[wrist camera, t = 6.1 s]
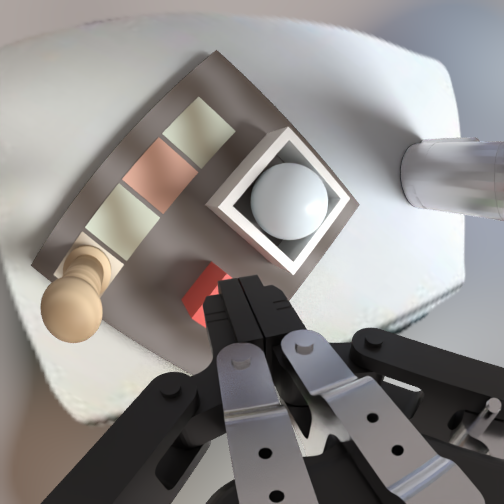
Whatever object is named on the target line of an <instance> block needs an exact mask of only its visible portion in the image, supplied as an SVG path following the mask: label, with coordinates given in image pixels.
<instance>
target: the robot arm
mask: <svg viewBox="0 0 504 504" xmlns="http://www.w3.org/2000/svg"><path fill="white" fill-rule="evenodd" d="M401 182H402V187H403V190H404V193H405V196H406V198H407V199H408V201H409V202H410V203H411V204H412V205H413V206H414V207H417V208H421V209H429V210H436V211H443V212H450V213H457V214H463V215H470V216H476V217H482V218H488V219H495V220H500V221H504V142H480V141H479V140H478V139H477V138H474V137H473V138H472V137H471V138H443V139H426V140H422V142H421V143H419V144H414V145H411V146H410V147H409V148H408V149H407V151H406V152H405V154H404V157H403V160H402V165H401ZM218 292H219V294H216V295H210V296H206V298H205V300H204V303H203V311H204V317H205V323H206V329H207V335H208V340H209V344H210V349H211V353H212V357H213V359H212V361H211V363H210V364H209V366H208V367H207V368H206V369H204V370H203V371H202V372H200V373H198V374H195V375H193V376H191V377H190V376H188V375H186V374H184V373H180V372H168V373H164V374H162V375H159V376H157V377H156V378H155V379H153V380H152V381H151V382H150V383H149V385H148V386H147V387H146V388H145V389H144V390H143V391H142V392H141V394H140V395H139V396H138V397H137V398H136V399H135V400H134V401H133V402H132V404H131V405H130V406H129V407H128V408H127V409H126V410H125V411H124V413H123V414H122V415H121V416H120V417H119V418H118V419H117V420H116V421H115V423H114V424H113V425H112V426H111V427H110V428H109V429H108V430H107V432H106V433H105V434H104V435H103V436H102V437H101V438H100V439H99V441H97V443H96V444H95V445H94V446H93V447H92V448H91V449H90V450H89V451H88V452H87V454H86V455H85V456H84V457H83V458H82V459H81V460H80V461H79V462H78V463H77V465H76V466H75V467H74V468H73V469H72V470H71V471H70V472H69V473H68V474H67V475H66V477H65V478H64V479H63V480H62V481H61V482H60V483H59V484H58V485H57V486H56V487H55V489H54V490H53V491H52V492H51V493H50V494H49V495H48V496H47V498H45V499H44V500H43V502H42V503H41V504H171V503H172V501H173V500H174V498H175V497H176V496H177V494H178V493H179V491H180V490H181V488H182V487H183V485H184V484H185V483H186V481H187V480H188V478H189V477H190V475H191V474H192V472H193V471H194V469H195V468H196V466H197V465H198V463H199V462H200V460H201V459H202V457H203V456H204V454H205V453H206V451H207V450H208V448H209V446H210V444H211V440H213V439H215V438H217V437H218V436H221V435H223V434H225V433H227V439H228V444H229V450H230V456H231V462H232V467H233V472H234V478H235V479H234V480H232V481H230V482H229V483H227V484H225V485H224V486H223V487H221V488H220V489H219V490H218V491H216V492H215V493H214V494H213V495H212V496H211V498H210V499H209V500H208V501H207V502H206V504H504V368H502V367H499V366H495V365H492V364H489V363H485V362H482V361H479V360H475V359H472V358H469V357H466V356H462V355H459V354H456V353H453V352H449V351H446V350H443V349H440V348H437V347H433V346H430V345H427V344H424V343H421V342H418V341H415V340H411V339H408V338H405V337H402V336H399V335H396V334H393V333H390V332H387V331H384V330H381V329H378V328H364V329H361V330H359V331H357V332H356V333H355V334H354V336H353V338H352V342H350V343H328V342H327V340H326V339H325V338H324V337H323V336H322V335H321V334H319V333H317V332H315V331H312V330H307V329H306V327H305V326H304V324H303V323H302V321H301V320H300V318H299V316H298V315H297V313H296V312H295V310H294V308H293V307H292V305H291V304H290V302H289V301H288V299H287V297H286V296H285V294H284V293H283V291H282V290H280V289H279V288H277V287H275V286H274V285H268V286H263V284H262V282H261V280H260V278H259V277H258V275H257V274H256V275H250V276H244V277H238V279H237V278H232V279H226V280H220V281H218ZM385 376H386V377H389V378H392V379H395V380H398V381H401V382H404V383H406V384H409V385H412V386H415V387H418V388H420V389H421V391H419V392H414V391H410V390H407V389H405V388H402V387H399V386H396V385H393V384H390V383H387V382H385V381H383V379H384V377H385ZM274 386H276V389H277V391H278V393H279V396H280V403H281V405H280V403H279V400H278V397H277V394H276V390H275V387H274ZM292 426H293V427H294V429H295V431H296V433H297V435H298V436H299V438H300V440H301V442H302V444H303V446H304V450H305V455H306V457H302V454H301V451H300V448H299V445H298V442H297V439H296V436H295V433H294V430H293V427H292Z"/></svg>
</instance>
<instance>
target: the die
mask: <svg viewBox="0 0 504 504" xmlns="http://www.w3.org/2000/svg"><path fill="white" fill-rule="evenodd" d="M226 279H232V277H231V276H230V275H228V274H227V273H226V272H224V271H223V270H222V269H221V268H219V267H218V266H217V265H216V264H214V263H213V262H212V261H211V262H210V264H209V265H208V266H207V267H206V269H205V270H204V271H203V273H202V274H201V275H200V276H199V278H198V279H197V280H196V281H195V283H194V284H193V285H192V286H191V288H190V289H189V290H188V292H187V293H186V294H185V295H184V297H183V298H182V299H181V300H182V302H183V304H184V306H185V308H186V309H187V311H188V313H189V315H190V317H191V318H192V319H193V320H195V321H196V322H198V323H199V324H201V325H202V326H204V327H205V328H206V323H205V317H204V311H203V303H204V300H205V298H206V296H210V295H216V294H219V292H218V281H220V280H226Z"/></svg>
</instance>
